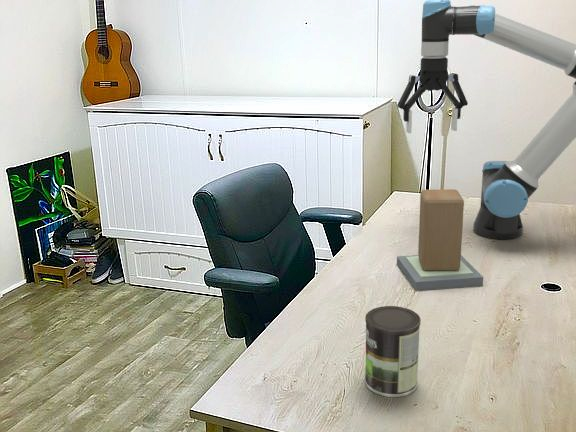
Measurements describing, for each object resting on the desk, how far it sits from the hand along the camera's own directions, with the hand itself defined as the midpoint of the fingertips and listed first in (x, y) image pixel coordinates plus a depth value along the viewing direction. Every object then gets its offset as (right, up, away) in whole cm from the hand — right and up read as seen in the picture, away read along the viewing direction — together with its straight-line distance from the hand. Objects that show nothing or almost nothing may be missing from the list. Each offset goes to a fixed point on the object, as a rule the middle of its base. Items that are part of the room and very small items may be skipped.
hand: (431, 131), depth 185 cm
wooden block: (-1, -38, -14) cm, 41 cm away
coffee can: (-22, -58, -62) cm, 87 cm away
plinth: (-1, -41, -13) cm, 43 cm away
